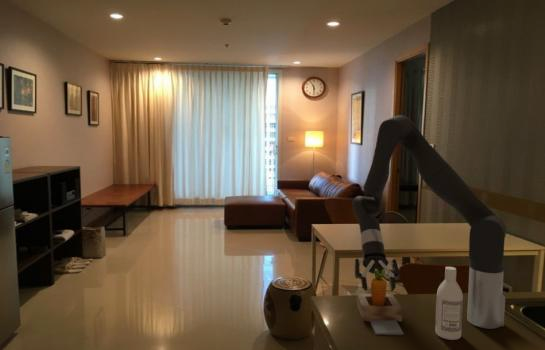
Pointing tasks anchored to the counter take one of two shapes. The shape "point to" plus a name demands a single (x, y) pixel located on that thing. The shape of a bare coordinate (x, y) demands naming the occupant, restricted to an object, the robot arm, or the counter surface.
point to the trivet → (386, 327)
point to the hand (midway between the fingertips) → (379, 289)
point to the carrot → (378, 289)
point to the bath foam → (449, 307)
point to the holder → (379, 308)
